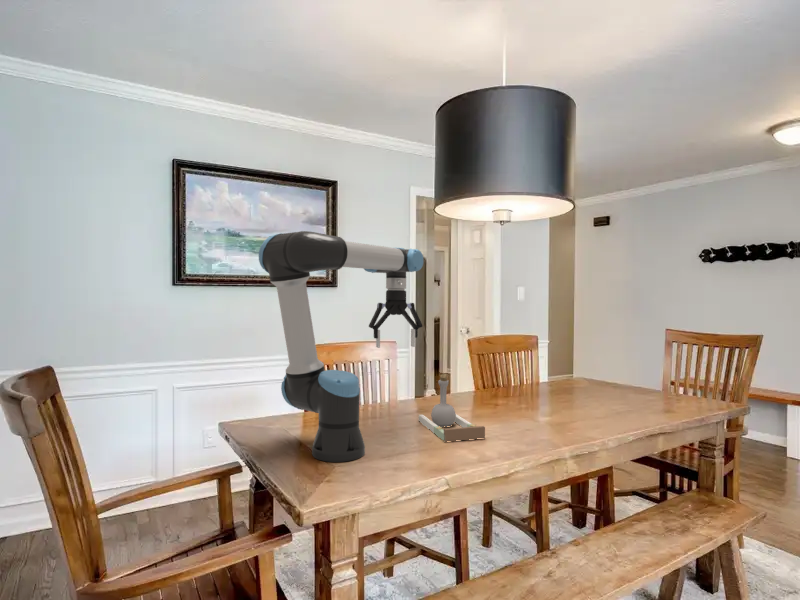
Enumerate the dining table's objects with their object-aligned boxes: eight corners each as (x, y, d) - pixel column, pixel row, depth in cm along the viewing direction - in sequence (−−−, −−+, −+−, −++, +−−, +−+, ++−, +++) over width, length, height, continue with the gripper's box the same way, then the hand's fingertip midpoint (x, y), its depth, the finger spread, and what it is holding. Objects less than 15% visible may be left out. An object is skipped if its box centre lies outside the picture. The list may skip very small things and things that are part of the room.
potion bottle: (457, 423, 174) (457, 373, 174) (453, 429, 166) (453, 377, 166) (433, 421, 177) (433, 372, 177) (428, 427, 168) (428, 375, 168)
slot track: (485, 439, 155) (485, 426, 155) (444, 442, 151) (444, 429, 151) (453, 418, 180) (454, 408, 180) (418, 421, 176) (418, 410, 176)
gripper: (365, 289, 171) (365, 348, 172) (431, 290, 179) (430, 347, 179) (361, 289, 179) (360, 346, 179) (423, 290, 186) (423, 345, 187)
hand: (395, 347), depth 179 cm, fingers open, 13 cm apart
